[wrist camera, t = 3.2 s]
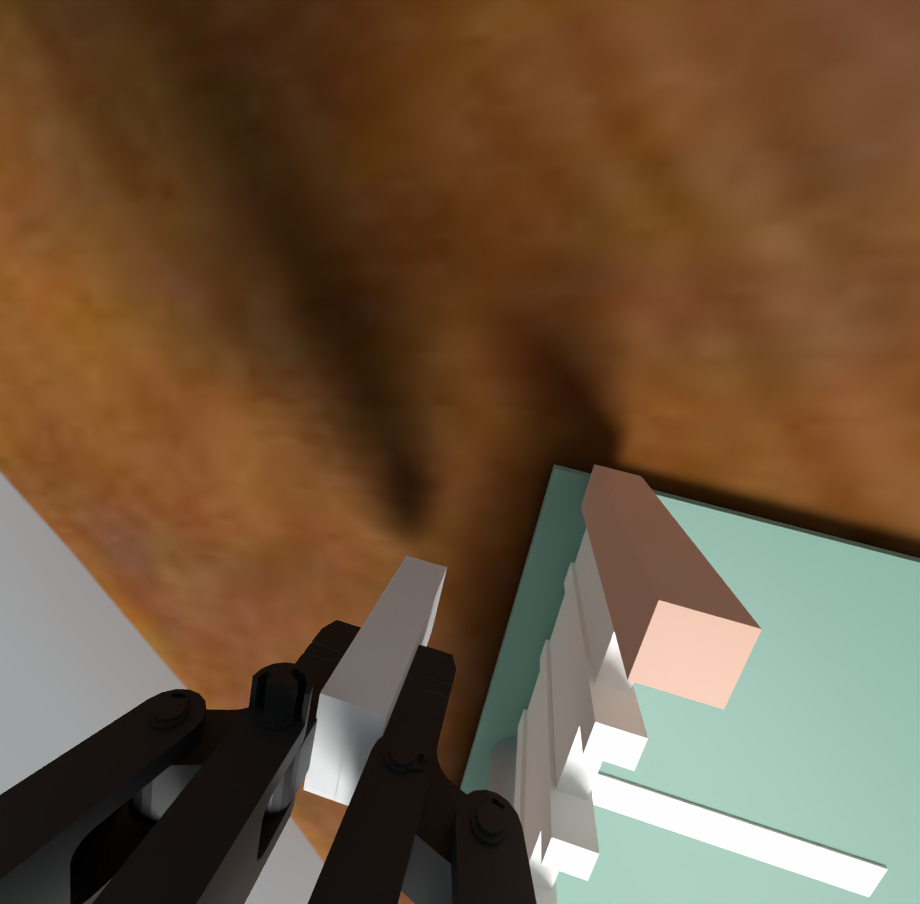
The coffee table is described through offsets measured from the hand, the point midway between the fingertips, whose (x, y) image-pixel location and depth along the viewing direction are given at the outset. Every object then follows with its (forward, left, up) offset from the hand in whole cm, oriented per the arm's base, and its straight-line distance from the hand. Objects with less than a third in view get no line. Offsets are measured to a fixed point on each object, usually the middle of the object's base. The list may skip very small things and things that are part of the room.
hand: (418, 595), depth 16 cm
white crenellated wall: (0, +6, -2) cm, 6 cm away
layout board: (+7, +14, -3) cm, 15 cm away
